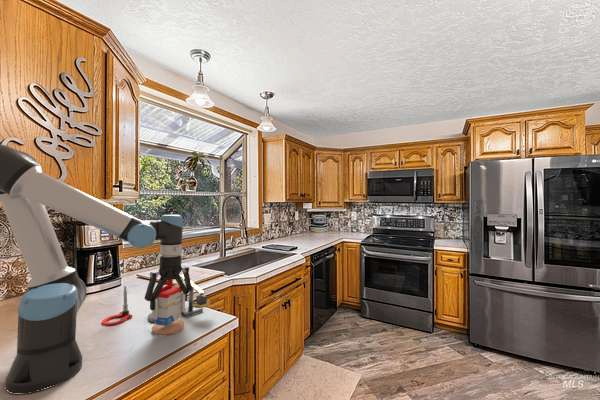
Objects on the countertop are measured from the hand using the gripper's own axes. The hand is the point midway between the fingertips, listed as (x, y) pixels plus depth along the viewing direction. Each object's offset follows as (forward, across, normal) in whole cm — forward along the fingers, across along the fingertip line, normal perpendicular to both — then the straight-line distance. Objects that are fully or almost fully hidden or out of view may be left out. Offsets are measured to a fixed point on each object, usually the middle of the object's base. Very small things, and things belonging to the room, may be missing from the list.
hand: (169, 313), depth 100 cm
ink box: (+3, 0, 0) cm, 3 cm away
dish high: (+6, +3, +12) cm, 14 cm away
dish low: (+6, 0, 0) cm, 6 cm away
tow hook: (+6, -11, +22) cm, 25 cm away
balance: (+6, +13, +8) cm, 16 cm away
